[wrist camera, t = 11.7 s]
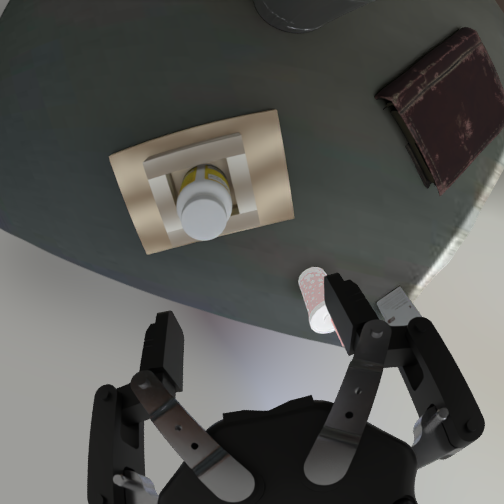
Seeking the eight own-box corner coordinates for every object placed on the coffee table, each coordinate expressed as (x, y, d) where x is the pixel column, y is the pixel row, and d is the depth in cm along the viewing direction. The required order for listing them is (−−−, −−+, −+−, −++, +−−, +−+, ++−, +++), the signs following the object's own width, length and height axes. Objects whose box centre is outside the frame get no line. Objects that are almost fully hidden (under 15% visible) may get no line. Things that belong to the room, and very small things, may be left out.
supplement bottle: (185, 208, 33) (177, 251, 24) (179, 166, 30) (166, 194, 22) (230, 203, 33) (237, 244, 25) (226, 160, 30) (232, 186, 22)
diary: (369, 93, 30) (389, 95, 25) (455, 27, 22) (475, 26, 18) (425, 189, 38) (444, 201, 34) (494, 114, 31) (513, 120, 27)
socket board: (112, 153, 29) (99, 162, 25) (274, 109, 29) (283, 111, 25) (149, 248, 36) (142, 267, 33) (291, 213, 37) (301, 228, 33)
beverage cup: (293, 266, 41) (323, 336, 30) (331, 259, 42) (370, 323, 30) (293, 296, 45) (319, 365, 33) (328, 289, 45) (362, 353, 33)
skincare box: (399, 284, 47) (432, 328, 37) (404, 296, 50) (434, 338, 39) (374, 303, 49) (403, 349, 39) (380, 314, 51) (407, 358, 41)
